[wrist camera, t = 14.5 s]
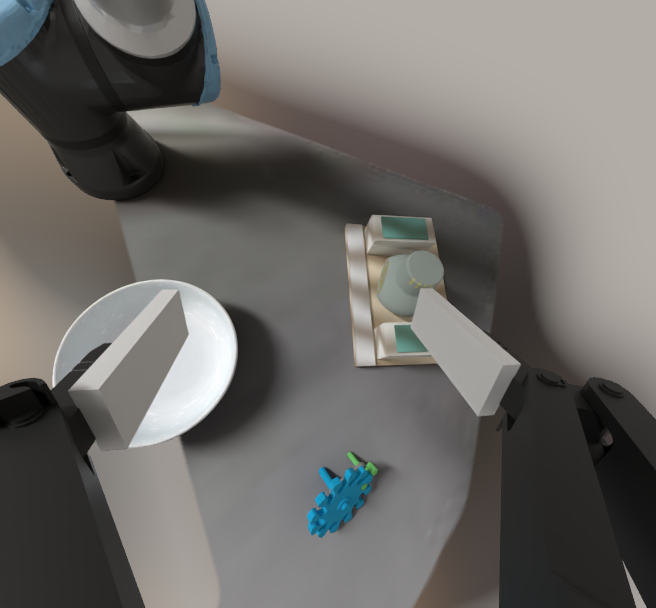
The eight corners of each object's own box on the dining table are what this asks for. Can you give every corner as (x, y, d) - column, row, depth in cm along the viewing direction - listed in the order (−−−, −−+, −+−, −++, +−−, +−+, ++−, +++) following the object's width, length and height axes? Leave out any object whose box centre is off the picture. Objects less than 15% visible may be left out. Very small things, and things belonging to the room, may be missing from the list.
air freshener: (414, 326, 46) (447, 310, 36) (369, 311, 45) (391, 292, 36) (424, 272, 49) (457, 245, 40) (383, 257, 49) (406, 227, 39)
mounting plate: (344, 228, 51) (352, 207, 44) (431, 232, 53) (449, 212, 47) (355, 366, 43) (366, 363, 37) (455, 362, 46) (480, 359, 40)
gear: (321, 554, 34) (303, 521, 29) (300, 510, 38) (281, 476, 33) (384, 493, 38) (378, 455, 33) (358, 460, 43) (349, 423, 38)
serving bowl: (249, 421, 38) (241, 429, 32) (85, 451, 35) (39, 466, 28) (240, 289, 44) (233, 272, 38) (99, 301, 40) (63, 285, 34)
